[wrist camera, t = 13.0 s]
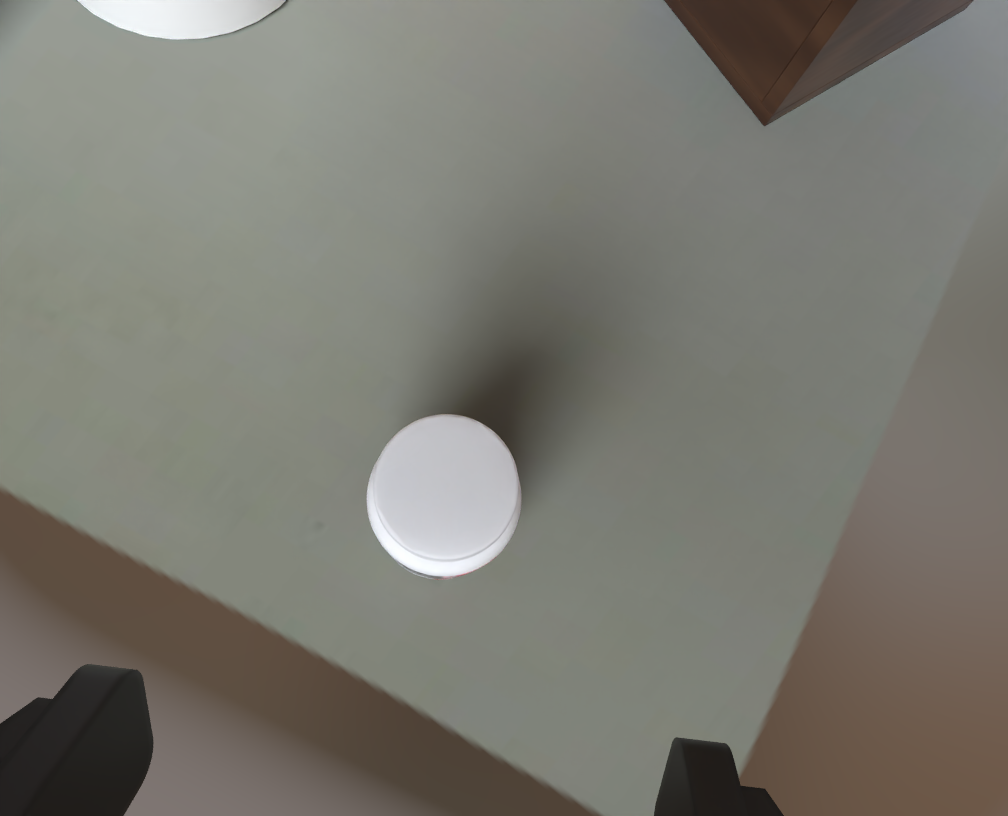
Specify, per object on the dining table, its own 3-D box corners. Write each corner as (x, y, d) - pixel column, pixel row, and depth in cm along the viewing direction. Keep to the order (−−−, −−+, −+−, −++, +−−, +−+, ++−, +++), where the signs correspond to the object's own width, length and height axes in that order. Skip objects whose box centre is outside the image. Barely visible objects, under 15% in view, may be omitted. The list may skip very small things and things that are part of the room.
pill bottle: (450, 605, 27) (461, 615, 19) (352, 526, 27) (320, 502, 19) (526, 505, 28) (567, 472, 20) (431, 430, 28) (434, 368, 20)
